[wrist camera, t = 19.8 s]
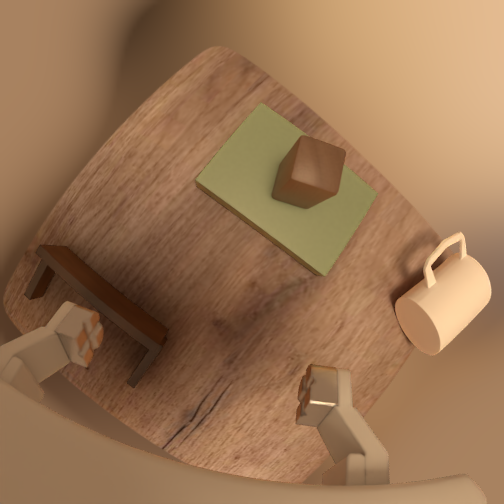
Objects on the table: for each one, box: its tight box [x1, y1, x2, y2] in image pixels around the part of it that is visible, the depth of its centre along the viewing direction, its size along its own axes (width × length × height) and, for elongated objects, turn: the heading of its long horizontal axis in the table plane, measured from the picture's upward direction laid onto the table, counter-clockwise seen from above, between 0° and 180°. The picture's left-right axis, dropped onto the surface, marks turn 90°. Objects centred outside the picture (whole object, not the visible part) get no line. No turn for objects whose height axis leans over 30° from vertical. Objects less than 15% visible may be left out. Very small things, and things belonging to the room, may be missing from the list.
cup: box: [395, 232, 491, 356], centre depth 30 cm, size 8×12×10 cm
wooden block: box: [272, 135, 346, 209], centre depth 26 cm, size 4×4×8 cm
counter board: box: [195, 103, 378, 277], centre depth 31 cm, size 16×11×3 cm
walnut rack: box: [24, 245, 169, 388], centre depth 27 cm, size 16×7×6 cm, turn 54°
